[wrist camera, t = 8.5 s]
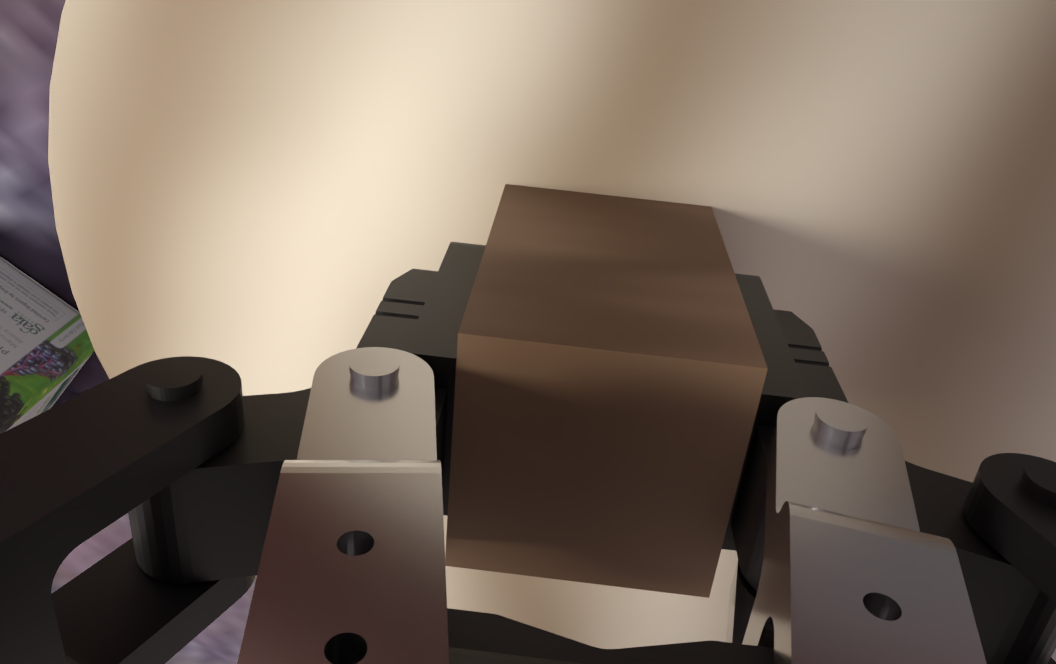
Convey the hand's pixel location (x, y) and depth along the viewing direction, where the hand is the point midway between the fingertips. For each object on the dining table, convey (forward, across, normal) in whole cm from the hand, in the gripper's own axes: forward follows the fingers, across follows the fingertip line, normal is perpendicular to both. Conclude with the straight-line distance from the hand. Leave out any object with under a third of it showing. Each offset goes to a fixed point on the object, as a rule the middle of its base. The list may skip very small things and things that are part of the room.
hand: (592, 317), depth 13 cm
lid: (+2, 0, 0) cm, 2 cm away
